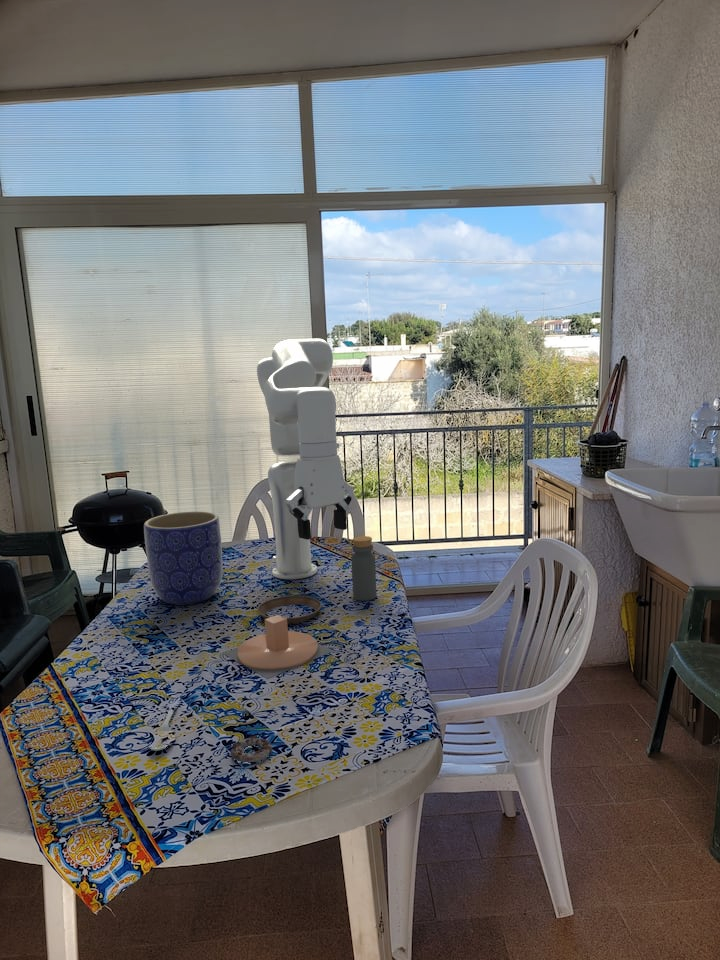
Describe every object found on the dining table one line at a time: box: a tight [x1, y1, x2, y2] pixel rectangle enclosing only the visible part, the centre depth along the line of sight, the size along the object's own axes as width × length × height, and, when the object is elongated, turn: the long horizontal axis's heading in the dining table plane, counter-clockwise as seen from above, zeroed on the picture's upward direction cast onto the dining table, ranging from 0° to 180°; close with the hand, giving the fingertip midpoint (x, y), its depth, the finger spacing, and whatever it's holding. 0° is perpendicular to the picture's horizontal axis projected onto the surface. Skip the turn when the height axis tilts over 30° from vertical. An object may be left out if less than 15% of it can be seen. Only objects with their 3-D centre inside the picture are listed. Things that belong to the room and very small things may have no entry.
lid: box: [237, 614, 319, 670], centre depth 131 cm, size 16×16×7 cm
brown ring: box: [257, 595, 323, 625], centre depth 152 cm, size 15×15×3 cm
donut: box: [230, 734, 273, 763], centre depth 99 cm, size 8×8×2 cm
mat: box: [222, 629, 335, 680], centre depth 132 cm, size 16×16×1 cm
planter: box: [143, 510, 223, 606], centre depth 166 cm, size 18×18×21 cm
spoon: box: [149, 711, 174, 751], centre depth 109 cm, size 4×21×2 cm, turn 7°
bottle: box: [350, 535, 378, 602], centre depth 161 cm, size 6×6×15 cm
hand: (323, 533), depth 134 cm, fingers open, 9 cm apart
